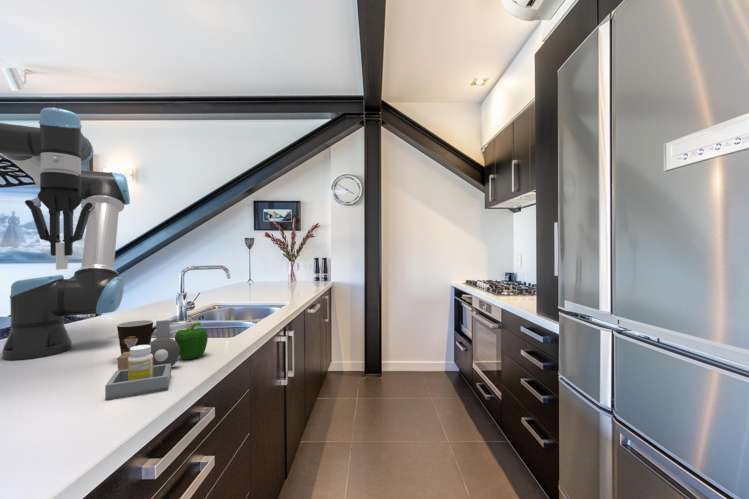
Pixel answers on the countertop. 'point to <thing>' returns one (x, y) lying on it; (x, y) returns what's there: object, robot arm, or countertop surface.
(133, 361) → the supplement bottle
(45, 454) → the countertop surface
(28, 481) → the countertop surface
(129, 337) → the coffee mug
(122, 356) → the wooden block
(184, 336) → the bell pepper
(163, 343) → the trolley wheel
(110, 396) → the tray
